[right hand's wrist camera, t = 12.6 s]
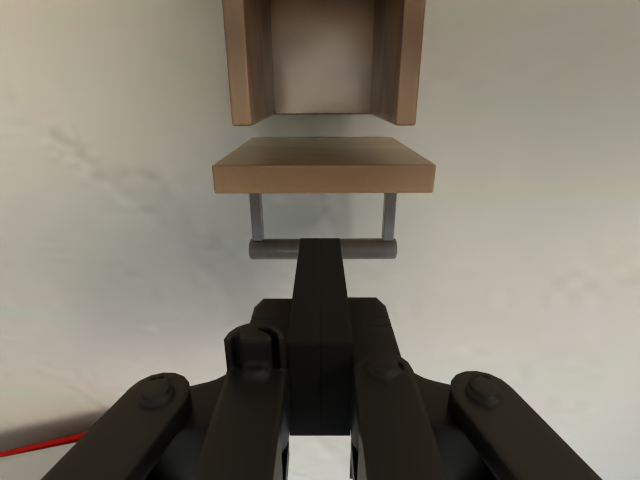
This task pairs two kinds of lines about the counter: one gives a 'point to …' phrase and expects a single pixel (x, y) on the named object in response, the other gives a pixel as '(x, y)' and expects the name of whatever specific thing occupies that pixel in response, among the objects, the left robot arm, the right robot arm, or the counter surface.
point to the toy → (35, 458)
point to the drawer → (323, 106)
